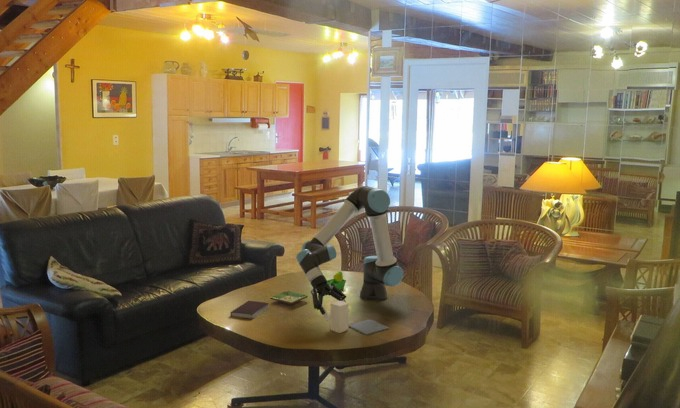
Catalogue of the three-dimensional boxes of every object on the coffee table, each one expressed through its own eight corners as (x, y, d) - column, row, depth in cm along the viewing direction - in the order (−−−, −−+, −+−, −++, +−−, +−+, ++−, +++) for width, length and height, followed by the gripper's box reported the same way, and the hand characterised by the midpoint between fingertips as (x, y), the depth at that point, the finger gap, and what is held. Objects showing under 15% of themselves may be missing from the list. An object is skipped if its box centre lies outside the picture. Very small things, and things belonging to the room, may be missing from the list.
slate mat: (370, 320, 293) (370, 319, 293) (389, 328, 282) (389, 327, 282) (347, 326, 285) (347, 325, 285) (366, 335, 274) (366, 333, 274)
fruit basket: (337, 285, 350) (337, 267, 349) (348, 289, 344) (348, 270, 343) (323, 289, 342) (323, 270, 341) (334, 293, 336) (334, 274, 334)
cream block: (338, 326, 284) (339, 300, 282) (348, 329, 280) (348, 303, 278) (330, 329, 280) (330, 303, 278) (339, 333, 276) (339, 306, 274)
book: (230, 317, 297) (230, 311, 296) (248, 305, 315) (248, 299, 314) (252, 320, 293) (252, 314, 292) (269, 308, 311) (269, 302, 310)
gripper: (330, 277, 298) (352, 313, 290) (294, 288, 280) (315, 326, 272) (338, 269, 293) (360, 305, 285) (301, 279, 275) (324, 318, 267)
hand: (338, 316), depth 279 cm, fingers open, 13 cm apart
